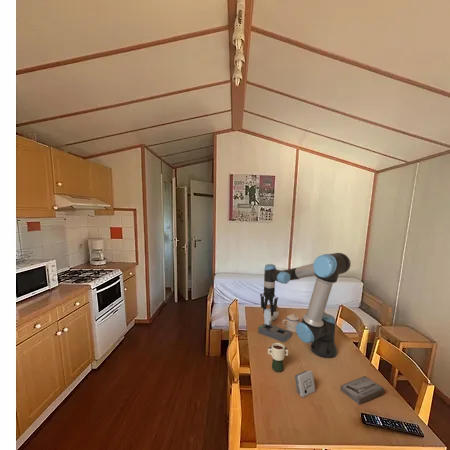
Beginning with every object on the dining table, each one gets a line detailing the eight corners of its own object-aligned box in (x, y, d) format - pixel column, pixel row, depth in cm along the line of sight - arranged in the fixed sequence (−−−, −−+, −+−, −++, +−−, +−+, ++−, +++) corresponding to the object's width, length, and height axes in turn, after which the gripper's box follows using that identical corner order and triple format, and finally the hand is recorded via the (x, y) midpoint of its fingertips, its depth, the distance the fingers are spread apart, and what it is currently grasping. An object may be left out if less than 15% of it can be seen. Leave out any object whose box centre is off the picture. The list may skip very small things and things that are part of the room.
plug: (271, 323, 181) (271, 309, 180) (268, 325, 178) (269, 311, 178) (267, 321, 183) (267, 308, 183) (264, 323, 181) (264, 309, 180)
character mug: (286, 365, 143) (287, 343, 142) (288, 374, 136) (289, 350, 135) (266, 364, 144) (267, 342, 143) (267, 372, 137) (268, 349, 136)
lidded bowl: (276, 315, 211) (277, 302, 210) (280, 321, 199) (281, 308, 198) (261, 315, 210) (261, 302, 210) (264, 322, 198) (265, 308, 197)
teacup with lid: (297, 326, 191) (297, 311, 190) (300, 332, 182) (301, 316, 181) (280, 326, 191) (281, 311, 190) (283, 332, 182) (284, 316, 181)
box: (385, 394, 122) (385, 388, 122) (359, 405, 115) (359, 399, 115) (364, 381, 132) (364, 375, 132) (340, 390, 125) (340, 384, 125)
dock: (286, 349, 159) (286, 347, 159) (280, 355, 153) (280, 352, 153) (274, 345, 164) (274, 343, 164) (268, 350, 158) (268, 348, 158)
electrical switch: (302, 398, 118) (301, 378, 119) (293, 392, 123) (293, 373, 123) (315, 391, 123) (315, 372, 123) (307, 386, 128) (306, 367, 128)
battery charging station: (290, 336, 176) (291, 330, 175) (284, 342, 168) (284, 335, 168) (265, 327, 188) (265, 321, 188) (258, 332, 181) (258, 326, 180)
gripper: (282, 288, 177) (281, 321, 178) (261, 283, 187) (260, 314, 189) (277, 290, 171) (276, 324, 173) (256, 285, 181) (255, 317, 183)
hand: (268, 319), depth 181 cm, fingers closed on plug, 3 cm apart
